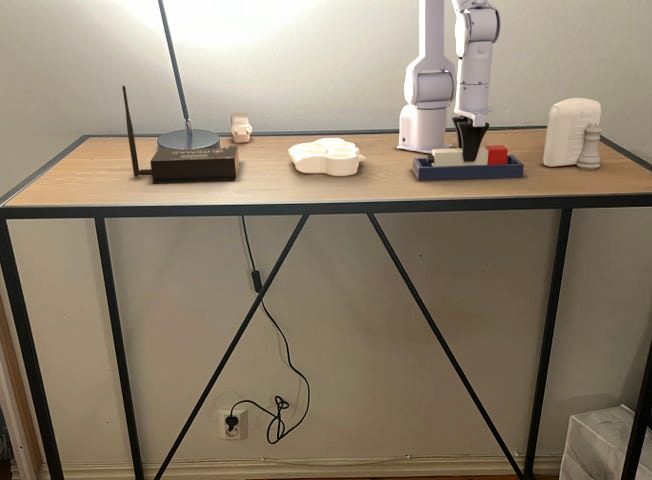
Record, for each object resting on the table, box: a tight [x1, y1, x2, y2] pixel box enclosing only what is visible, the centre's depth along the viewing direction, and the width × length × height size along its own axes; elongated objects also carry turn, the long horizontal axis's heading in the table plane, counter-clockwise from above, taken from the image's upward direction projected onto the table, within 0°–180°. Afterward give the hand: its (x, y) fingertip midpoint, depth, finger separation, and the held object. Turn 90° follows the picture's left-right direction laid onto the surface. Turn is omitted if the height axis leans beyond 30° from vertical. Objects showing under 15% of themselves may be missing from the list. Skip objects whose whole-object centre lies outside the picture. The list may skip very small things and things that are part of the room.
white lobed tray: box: [288, 137, 367, 177], centre depth 145 cm, size 3×18×15 cm
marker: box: [426, 144, 509, 167], centre depth 136 cm, size 15×3×3 cm, turn 92°
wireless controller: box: [121, 85, 240, 185], centre depth 139 cm, size 20×14×17 cm
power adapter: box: [229, 112, 253, 144], centre depth 164 cm, size 11×5×6 cm, turn 9°
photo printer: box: [542, 97, 602, 168], centre depth 140 cm, size 10×4×12 cm, turn 108°
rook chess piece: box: [576, 123, 604, 171], centre depth 138 cm, size 4×4×8 cm
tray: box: [412, 154, 525, 182], centre depth 137 cm, size 20×8×2 cm, turn 92°
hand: (467, 158), depth 136 cm, fingers closed on marker, 3 cm apart
